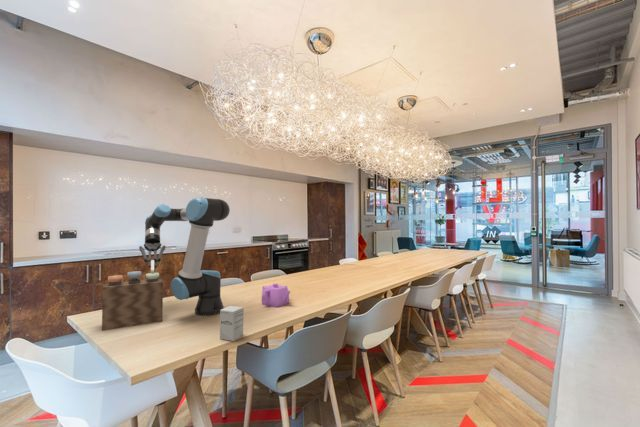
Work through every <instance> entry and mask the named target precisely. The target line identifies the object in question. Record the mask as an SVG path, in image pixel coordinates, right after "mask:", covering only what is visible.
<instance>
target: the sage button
mask: <svg viewBox="0 0 640 427" xmlns="http://www.w3.org/2000/svg"><path fill="white" fill-rule="evenodd" d="M157 278H158V279H160V273H159V272H154V273H151V272H148V273H146V274H145V280H147V279H157Z"/></svg>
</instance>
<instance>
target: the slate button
mask: <svg viewBox="0 0 640 427" xmlns="http://www.w3.org/2000/svg"><path fill="white" fill-rule="evenodd" d="M126 273H127V276H126V277H127V279H132V280H137V279H138V278H141V277H142V271H141V270H136V271H127V272H126Z"/></svg>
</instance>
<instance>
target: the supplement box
mask: <svg viewBox="0 0 640 427" xmlns="http://www.w3.org/2000/svg"><path fill="white" fill-rule="evenodd" d="M244 309H245V308H244V307H241V306H234V305H229V306H226V307H224V309H221V310H220V313H219V339H220V340H226V341H232V342H234V341H237V340H238V339H240V338H242V337H243V336H244Z"/></svg>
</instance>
